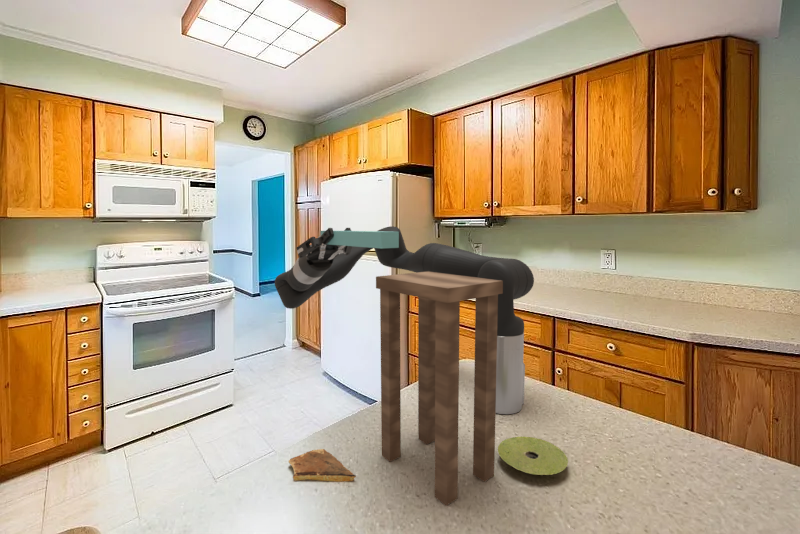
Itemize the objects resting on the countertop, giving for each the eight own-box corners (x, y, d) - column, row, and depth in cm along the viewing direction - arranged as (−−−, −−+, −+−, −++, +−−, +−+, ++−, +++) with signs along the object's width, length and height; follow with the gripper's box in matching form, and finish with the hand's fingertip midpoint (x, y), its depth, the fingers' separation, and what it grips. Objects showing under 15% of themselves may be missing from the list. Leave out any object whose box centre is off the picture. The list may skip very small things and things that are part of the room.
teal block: (336, 243, 92) (335, 230, 91) (398, 247, 73) (398, 231, 73) (320, 243, 89) (320, 230, 89) (381, 248, 70) (381, 231, 70)
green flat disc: (490, 446, 71) (490, 436, 71) (550, 445, 72) (551, 435, 72) (508, 486, 60) (509, 474, 60) (580, 485, 61) (580, 473, 60)
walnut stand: (427, 433, 76) (428, 271, 73) (498, 476, 63) (502, 280, 60) (377, 455, 69) (375, 276, 66) (446, 509, 55) (447, 288, 52)
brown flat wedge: (356, 484, 62) (356, 474, 62) (312, 506, 57) (312, 495, 57) (323, 454, 70) (323, 444, 70) (282, 471, 65) (282, 461, 65)
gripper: (281, 252, 95) (307, 216, 82) (333, 250, 103) (363, 217, 91) (288, 280, 92) (315, 247, 80) (340, 275, 101) (372, 245, 89)
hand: (341, 231), depth 86 cm, fingers closed on teal block, 4 cm apart
